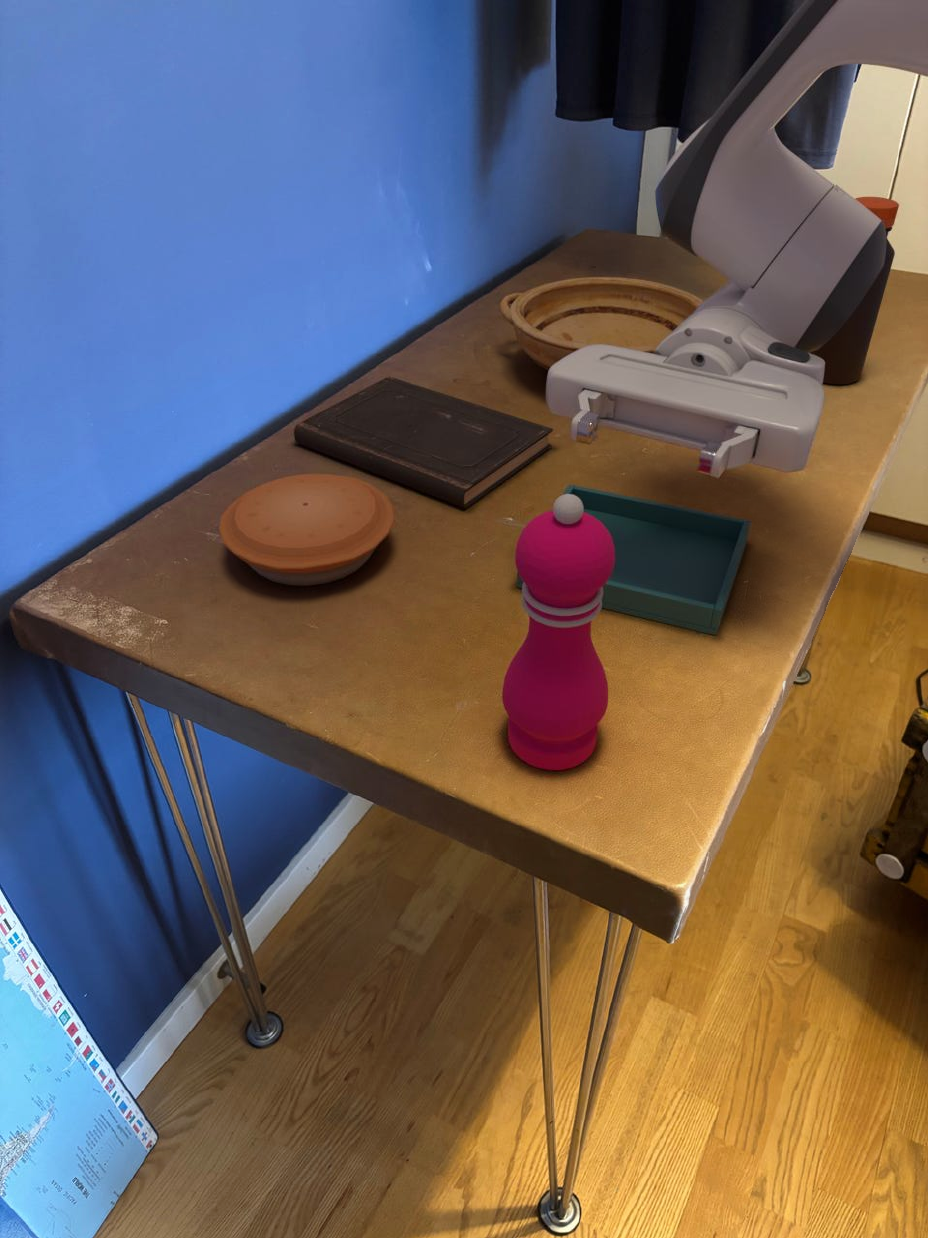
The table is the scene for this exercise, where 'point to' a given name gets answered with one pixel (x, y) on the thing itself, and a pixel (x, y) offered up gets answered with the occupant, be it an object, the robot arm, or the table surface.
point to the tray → (667, 559)
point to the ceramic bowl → (595, 315)
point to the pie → (307, 527)
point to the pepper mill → (559, 638)
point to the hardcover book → (425, 439)
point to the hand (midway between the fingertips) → (642, 449)
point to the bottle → (859, 312)
